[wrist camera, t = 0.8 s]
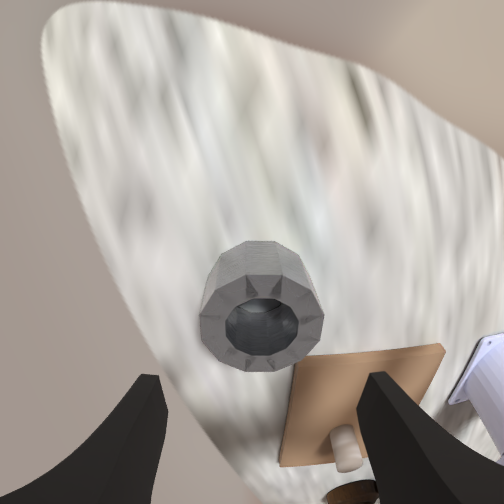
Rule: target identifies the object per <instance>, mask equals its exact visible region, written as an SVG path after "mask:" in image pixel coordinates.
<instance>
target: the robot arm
mask: <svg viewBox="0 0 504 504" xmlns="http://www.w3.org/2000/svg"><path fill="white" fill-rule="evenodd" d="M466 400H470V402H471V403H472V405H473V407H474V408H475V410H476V412H477V413H478V415H479V417H480V419H481V420H482V422H483V424H484V426H485V427H486V429H487V431H488V433H489V435H490V436H491V438H492V440H493V442H494V444H495V446H496V448H497V449H498V451H499V453H500V455H501V458H500V459H499V460H498V461H497V462H494V461H492V460H490V459H488V458H486V457H484V456H482V455H481V454H479V453H477V452H476V451H474V450H472V449H471V448H469V447H468V446H466V445H465V444H463V443H462V442H460V441H459V440H458V439H456V438H455V437H453V436H452V435H451V434H450V433H448V432H447V431H446V430H445V429H443V428H442V427H441V426H440V425H439V424H438V423H436V422H435V421H434V420H433V419H432V418H431V417H430V416H429V415H428V414H427V413H426V412H424V411H423V410H422V409H421V408H420V407H419V406H418V405H417V404H416V403H415V402H414V401H413V400H412V399H411V398H410V397H409V395H408V394H407V393H406V392H405V391H404V390H403V389H402V388H401V387H400V386H399V385H398V384H397V383H396V382H395V381H394V380H393V379H392V378H391V377H390V376H389V375H388V374H387V373H386V372H385V371H380V372H372V373H369V376H368V378H367V381H366V384H365V387H364V389H363V392H362V394H361V397H360V400H359V402H358V405H357V407H356V411H357V417H358V423H359V428H360V433H361V436H362V439H363V442H364V445H365V448H366V452H367V455H368V458H369V461H370V464H371V467H372V470H373V473H374V477H375V480H376V484H377V488H378V493H379V499H380V504H504V333H501V334H497V335H492V336H488V337H484V338H483V339H482V340H481V341H480V343H479V345H478V347H477V349H476V351H475V353H474V355H473V357H472V359H471V361H470V363H469V365H468V367H467V369H466V371H465V372H464V374H463V376H462V378H461V380H460V381H459V383H458V385H457V387H456V388H455V390H454V392H453V394H452V395H451V397H450V399H449V400H448V403H449V405H453V404H457V403H460V402H463V401H466ZM167 418H168V409H167V405H166V402H165V398H164V394H163V391H162V387H161V383H160V380H159V376H158V375H148V374H141V375H140V376H139V377H138V378H137V380H136V381H135V383H134V384H133V385H132V386H131V388H130V389H129V391H128V392H127V393H126V394H125V396H124V397H123V398H122V400H121V401H120V402H119V404H118V405H117V406H116V407H115V408H114V410H113V411H112V412H111V413H110V414H109V416H108V417H107V418H106V419H105V420H104V421H103V423H102V424H101V425H100V426H99V427H98V428H97V429H96V430H95V431H94V432H93V433H92V434H91V436H90V437H89V438H88V439H87V440H86V441H85V442H84V443H83V444H81V445H80V446H79V447H78V448H77V449H76V450H75V451H74V452H73V453H72V454H71V455H69V456H68V457H67V458H65V459H64V460H63V461H62V462H60V463H59V464H58V465H57V466H55V467H54V468H53V469H51V470H50V471H48V472H47V473H45V474H44V475H42V476H40V477H39V478H37V479H36V480H34V481H32V482H31V483H29V484H27V485H25V486H24V487H22V488H20V489H17V490H15V491H13V492H11V493H9V494H6V495H4V496H2V497H0V504H150V503H151V495H152V490H153V485H154V480H155V476H156V472H157V468H158V464H159V459H160V456H161V452H162V448H163V444H164V439H165V434H166V427H167Z"/></svg>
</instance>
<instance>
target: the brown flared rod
mask: <svg viewBox="0 0 504 504" xmlns="http://www.w3.org/2000/svg"><path fill="white" fill-rule="evenodd" d="M378 498H379V493H378V488H377V484H376V481H374V480H362V481H357V482H353V483H350V484H347V485H343V486H340V487H338V488H336V489H334V490H332V491H331V492H329V493H328V494H327V500H328V504H374V503H375V501H376V500H377V499H378Z"/></svg>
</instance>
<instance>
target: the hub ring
mask: <svg viewBox="0 0 504 504" xmlns="http://www.w3.org/2000/svg"><path fill="white" fill-rule="evenodd" d="M253 298H274V299H276V300H278V301H280V302H282V304H281V305H280V307H277V308H275V309H273V310H271V311H269V312H267V313H250V312H248V311H246V310H244V309H242V308H240V307H238V305H240V304H242V303H244V302H246V301H249V300H251V299H253ZM199 316H200V327H201V338H202V341H203V343H204V344H205V345H206V346H207V347H208V349H209V350H210V351H211V352H212V353H213V355H214V356H215V357H216V358H217V359H218V360H219V361H220V362H223V363H225V364H228V365H230V366H232V367H235V368H237V369H240V370H242V371H245V372H275V371H277V370H280V369H282V368H285V367H287V366H290V365H292V364H294V363H297V362H299V361H301V360H302V359H303V358H304V357H305V356H306V355H307V354H308V353H309V352H310V351H311V350H312V349H313V347H314V346H315V345H316V344H317V343H318V342H319V341H320V337H321V331H322V326H323V320H324V313H323V310H322V307H321V304H320V302H319V299H318V296H317V294H316V291H315V288H314V286H313V283H312V280H311V278H310V275H309V274H308V272H307V270H306V268H305V266H304V264H303V262H302V260H301V258H300V256H299V255H298V254H296V253H294V252H293V251H291V250H289V249H287V248H286V247H284V246H282V245H280V244H279V243H277V242H275V241H245V242H244V243H242V244H240V245H238V246H236V247H234V248H232V249H230V250H228V251H226V252H225V253H223V254H221V256H220V257H219V259H218V261H217V262H216V264H215V265H214V267H213V269H212V270H211V272H210V274H209V275H208V279H207V284H206V288H205V292H204V297H203V301H202V306H201V310H200V315H199Z"/></svg>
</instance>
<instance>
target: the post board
mask: <svg viewBox="0 0 504 504" xmlns="http://www.w3.org/2000/svg"><path fill="white" fill-rule="evenodd" d="M445 353H446V351H445V349H444V348H443V346H442V345H441V344H440V343H438V344H431V345H424V346H417V347H409V348H401V349H392V350H383V351H373V352H362V353H349V354H335V355H316V356H305V357H304V358H303V359H302V360H301V361H299V362H297V363H295V369H294V376H293V382H292V389H291V395H290V401H289V407H288V413H287V419H286V424H285V430H284V435H283V441H282V446H281V451H280V457H279V464H280V467H294V466H307V465H317V464H326V463H334V462H336V467H337V471H338V472H340V473H346V472H351V471H354V470H356V469H358V468H360V467H361V466H362V465H363V460H362V458H366V457H368V455H367V452H366V448H365V445H364V442H363V439H362V436H361V433H360V428H359V423H358V417H357V411H356V407H357V405H358V402H359V400H360V397H361V394H362V392H363V389H364V387H365V384H366V381H367V378H368V376H369V373H372V372H380V371H385V372H386V373H387V374H388V375H389V376H390V377H391V378H392V379H393V380H394V381H395V382H396V383H397V384H398V385H399V386H400V387H401V388H402V389H403V390H404V391H405V392H406V393H407V394H408V395H409V397H410V398H411V399H412V400H413V401H414V402H415V403H416V404H417V405H418V406H419V404H420V402H421V400H422V398H423V397H424V395H425V393H426V391H427V389H428V387H429V385H430V384H431V382H432V380H433V378H434V376H435V374H436V372H437V370H438V368H439V365H440V363H441V361H442V359H443V357H444V355H445Z"/></svg>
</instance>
